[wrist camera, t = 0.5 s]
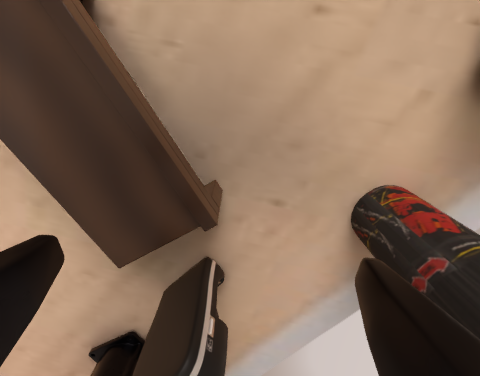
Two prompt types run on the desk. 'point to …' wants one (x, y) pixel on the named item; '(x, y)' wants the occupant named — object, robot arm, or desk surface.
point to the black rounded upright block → (187, 328)
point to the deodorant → (423, 249)
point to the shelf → (93, 133)
